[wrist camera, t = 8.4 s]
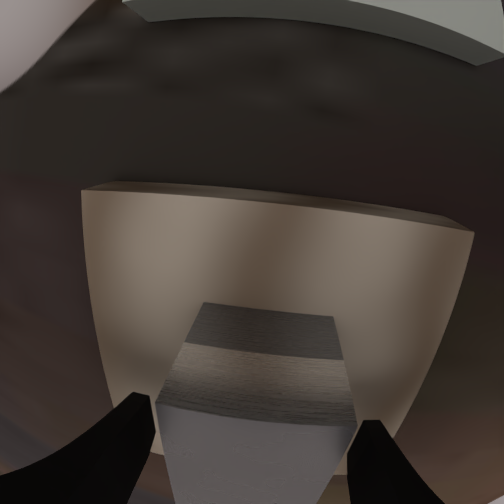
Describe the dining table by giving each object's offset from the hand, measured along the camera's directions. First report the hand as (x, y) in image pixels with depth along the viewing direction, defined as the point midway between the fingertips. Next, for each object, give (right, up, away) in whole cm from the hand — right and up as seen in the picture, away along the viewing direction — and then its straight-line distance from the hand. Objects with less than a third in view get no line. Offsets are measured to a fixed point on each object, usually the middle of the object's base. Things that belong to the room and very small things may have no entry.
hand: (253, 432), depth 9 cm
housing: (0, +1, +2) cm, 3 cm away
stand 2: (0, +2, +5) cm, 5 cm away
